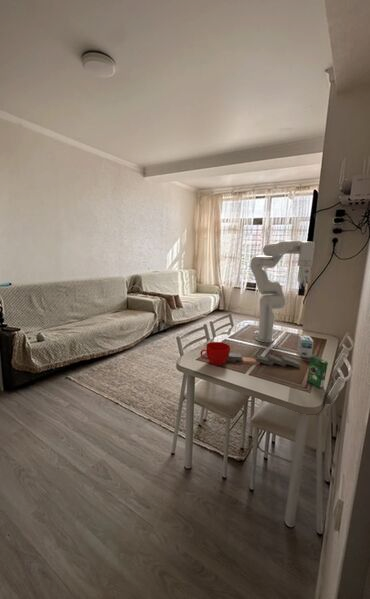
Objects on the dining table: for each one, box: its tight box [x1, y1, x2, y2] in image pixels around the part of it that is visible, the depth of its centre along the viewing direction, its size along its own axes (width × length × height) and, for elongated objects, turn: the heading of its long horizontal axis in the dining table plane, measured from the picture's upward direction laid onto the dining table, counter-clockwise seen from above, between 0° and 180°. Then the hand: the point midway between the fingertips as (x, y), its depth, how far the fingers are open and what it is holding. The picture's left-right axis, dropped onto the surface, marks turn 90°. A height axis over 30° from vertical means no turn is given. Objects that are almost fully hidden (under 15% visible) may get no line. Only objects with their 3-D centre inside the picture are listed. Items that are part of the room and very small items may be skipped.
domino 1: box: [228, 352, 243, 362], centre depth 159 cm, size 2×5×9 cm
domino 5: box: [280, 355, 301, 369], centre depth 156 cm, size 2×5×9 cm
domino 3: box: [254, 354, 275, 366], centre depth 157 cm, size 2×5×9 cm
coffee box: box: [306, 355, 329, 389], centre depth 134 cm, size 8×3×13 cm, turn 22°
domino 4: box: [267, 353, 287, 367], centre depth 156 cm, size 2×5×9 cm
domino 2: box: [241, 356, 261, 365], centre depth 158 cm, size 2×5×9 cm
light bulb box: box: [296, 334, 315, 359], centre depth 172 cm, size 11×7×11 cm, turn 168°
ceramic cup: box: [199, 341, 231, 367], centre depth 153 cm, size 13×17×10 cm
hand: (301, 295), depth 163 cm, fingers closed
